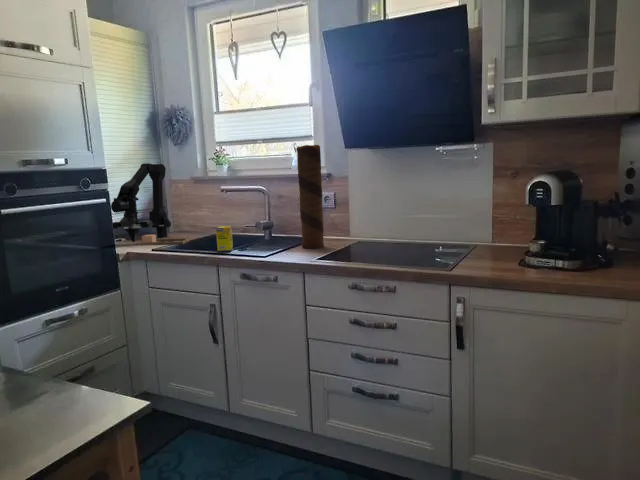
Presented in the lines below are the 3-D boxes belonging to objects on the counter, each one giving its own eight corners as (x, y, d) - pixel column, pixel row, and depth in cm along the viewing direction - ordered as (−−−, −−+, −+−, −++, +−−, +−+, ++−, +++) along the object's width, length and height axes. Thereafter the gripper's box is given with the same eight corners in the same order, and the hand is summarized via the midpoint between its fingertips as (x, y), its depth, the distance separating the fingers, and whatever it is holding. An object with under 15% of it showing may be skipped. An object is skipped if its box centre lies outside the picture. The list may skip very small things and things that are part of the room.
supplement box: (230, 252, 228) (229, 227, 226) (217, 252, 228) (215, 227, 226) (233, 249, 234) (231, 225, 232) (220, 250, 234) (218, 226, 232)
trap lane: (147, 243, 263) (147, 239, 262) (190, 242, 261) (189, 238, 261) (137, 247, 251) (137, 243, 250) (182, 246, 249) (182, 241, 249)
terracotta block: (146, 242, 259) (145, 234, 258) (156, 242, 259) (155, 234, 258) (142, 244, 254) (141, 236, 253) (152, 244, 254) (151, 236, 253)
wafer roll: (312, 249, 225) (308, 144, 218) (296, 247, 233) (292, 145, 226) (329, 246, 232) (326, 144, 225) (314, 244, 240) (310, 145, 233)
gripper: (104, 212, 247) (107, 245, 249) (142, 211, 246) (145, 244, 248) (115, 210, 258) (118, 241, 260) (151, 209, 257) (154, 240, 259)
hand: (133, 241), depth 257 cm, fingers closed
